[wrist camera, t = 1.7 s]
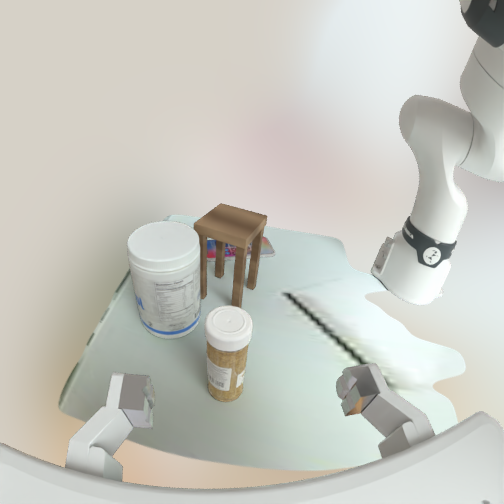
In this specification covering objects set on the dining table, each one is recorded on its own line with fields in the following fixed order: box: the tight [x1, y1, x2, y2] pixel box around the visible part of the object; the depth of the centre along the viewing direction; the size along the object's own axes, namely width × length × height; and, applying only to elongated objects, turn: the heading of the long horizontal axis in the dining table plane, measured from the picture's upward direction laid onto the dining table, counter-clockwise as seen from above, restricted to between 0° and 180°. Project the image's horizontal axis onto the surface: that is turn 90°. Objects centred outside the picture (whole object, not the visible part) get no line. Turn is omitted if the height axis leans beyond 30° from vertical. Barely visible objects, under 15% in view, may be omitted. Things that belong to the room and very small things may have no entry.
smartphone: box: [207, 237, 275, 262], centre depth 60 cm, size 7×1×15 cm
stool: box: [194, 204, 267, 308], centre depth 45 cm, size 8×8×14 cm
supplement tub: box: [127, 221, 200, 339], centre depth 38 cm, size 10×10×15 cm
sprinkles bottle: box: [205, 306, 253, 402], centre depth 29 cm, size 5×5×13 cm
